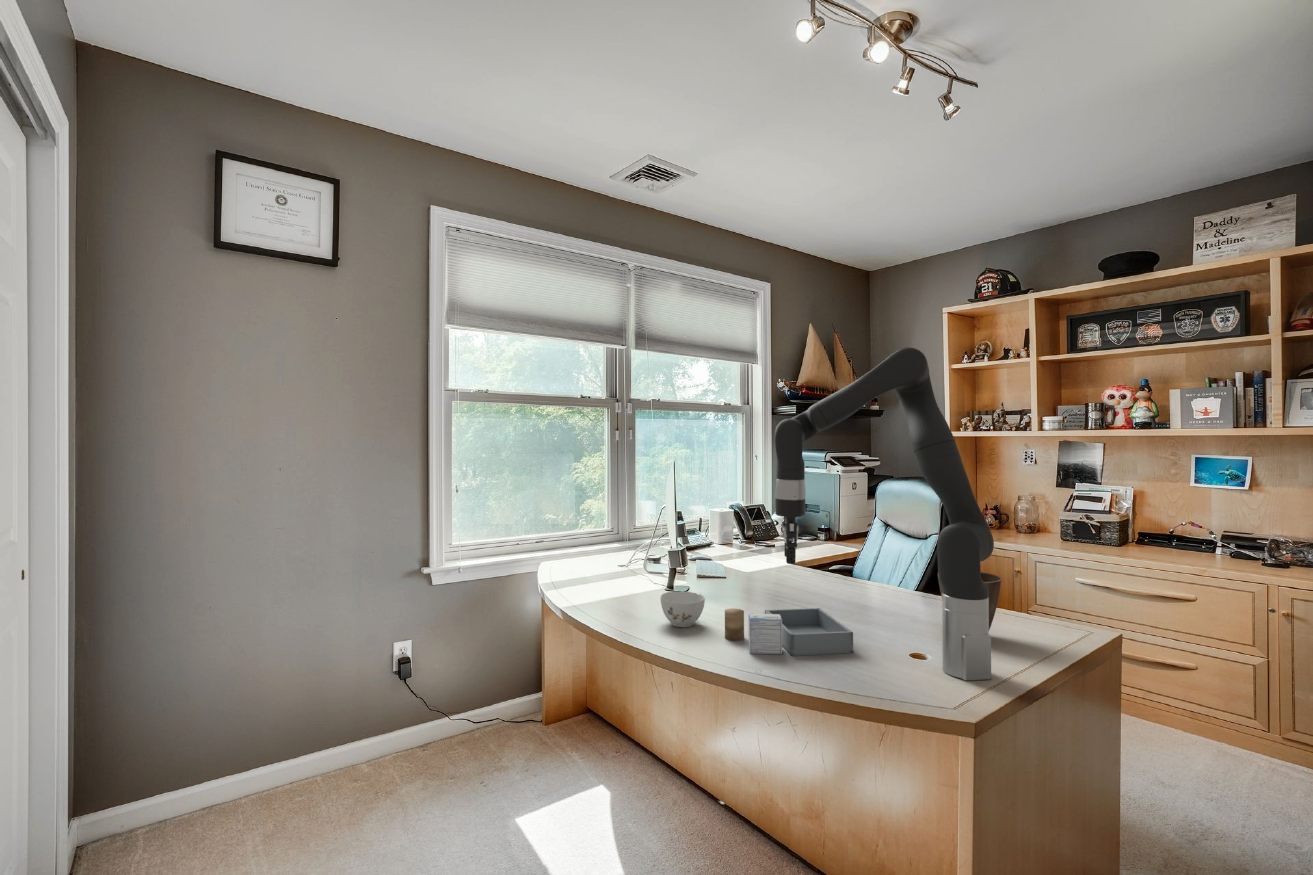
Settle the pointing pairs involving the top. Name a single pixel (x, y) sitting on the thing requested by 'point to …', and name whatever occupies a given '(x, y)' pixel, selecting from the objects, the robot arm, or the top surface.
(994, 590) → the plant pot
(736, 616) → the tan bread loaf
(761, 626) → the medicine box
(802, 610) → the tote
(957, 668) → the robot arm
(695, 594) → the teacup
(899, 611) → the top surface
